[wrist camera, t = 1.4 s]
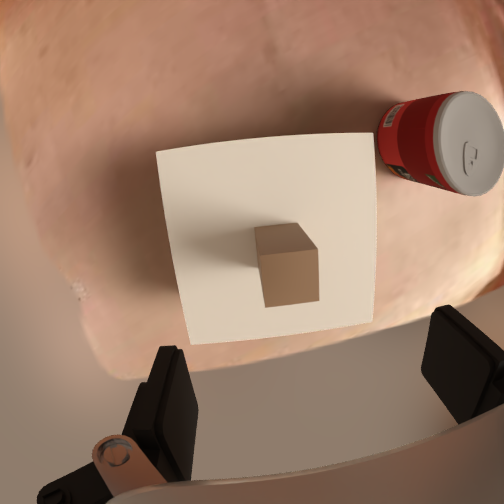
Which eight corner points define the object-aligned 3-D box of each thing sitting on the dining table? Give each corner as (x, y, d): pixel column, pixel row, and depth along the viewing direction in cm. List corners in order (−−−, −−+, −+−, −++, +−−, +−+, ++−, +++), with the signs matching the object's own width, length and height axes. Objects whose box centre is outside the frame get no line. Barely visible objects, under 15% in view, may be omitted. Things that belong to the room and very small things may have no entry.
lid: (159, 151, 21) (125, 153, 14) (367, 133, 21) (416, 130, 14) (192, 338, 26) (180, 395, 19) (368, 316, 26) (401, 364, 19)
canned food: (377, 181, 29) (440, 201, 19) (369, 102, 27) (431, 85, 16) (438, 177, 29) (507, 195, 19) (432, 104, 27) (502, 96, 16)
